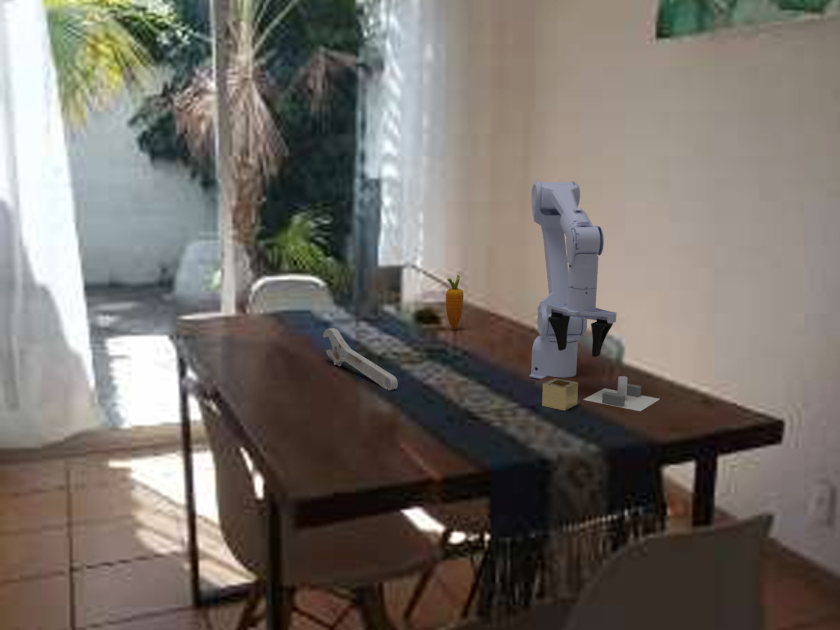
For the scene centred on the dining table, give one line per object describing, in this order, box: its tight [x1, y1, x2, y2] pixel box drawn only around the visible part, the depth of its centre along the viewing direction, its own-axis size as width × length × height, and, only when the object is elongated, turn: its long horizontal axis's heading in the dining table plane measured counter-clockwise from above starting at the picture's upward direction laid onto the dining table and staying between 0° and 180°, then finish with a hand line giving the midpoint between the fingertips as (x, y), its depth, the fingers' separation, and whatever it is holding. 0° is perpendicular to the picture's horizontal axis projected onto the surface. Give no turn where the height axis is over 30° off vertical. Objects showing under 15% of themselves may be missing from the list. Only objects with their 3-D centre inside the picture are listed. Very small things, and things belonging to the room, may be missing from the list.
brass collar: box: [541, 377, 579, 412], centre depth 174 cm, size 5×5×5 cm
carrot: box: [445, 274, 464, 331], centre depth 242 cm, size 5×5×15 cm
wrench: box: [322, 327, 399, 391], centre depth 198 cm, size 8×2×30 cm
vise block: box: [583, 375, 661, 412], centre depth 178 cm, size 12×10×6 cm
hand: (578, 352), depth 182 cm, fingers open, 7 cm apart
